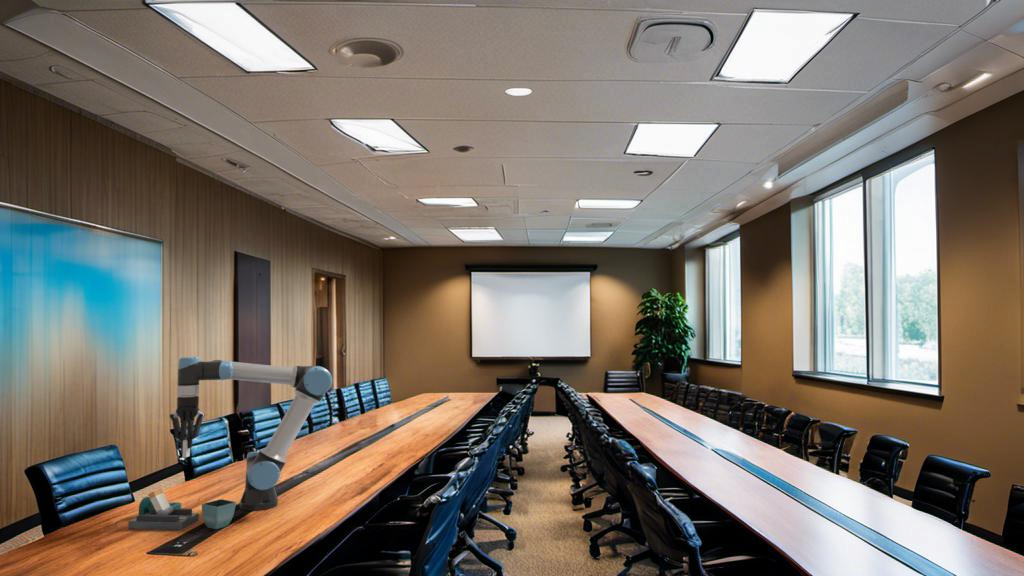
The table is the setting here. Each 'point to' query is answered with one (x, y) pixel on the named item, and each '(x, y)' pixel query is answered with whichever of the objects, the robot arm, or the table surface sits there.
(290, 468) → the table surface
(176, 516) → the dark grey rectangular piece
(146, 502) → the bracket
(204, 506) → the flower pot
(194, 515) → the breaker panel
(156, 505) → the breaker lever
